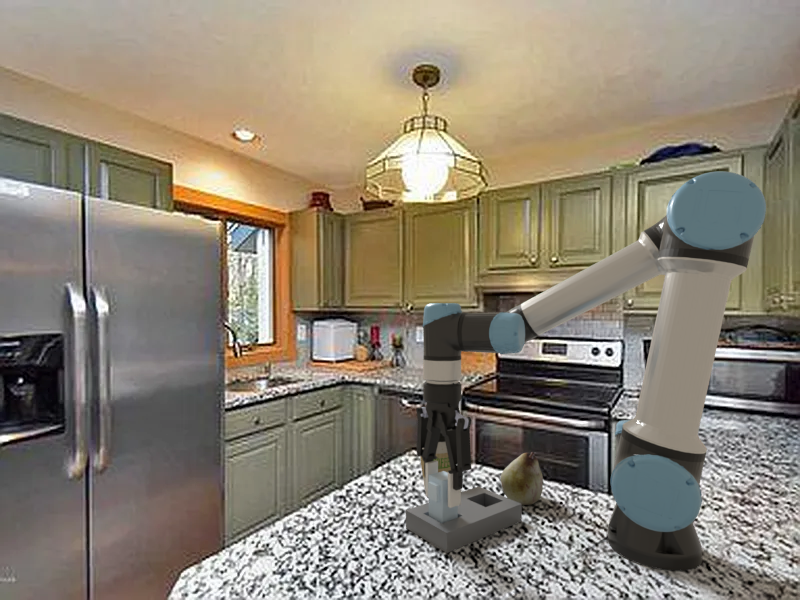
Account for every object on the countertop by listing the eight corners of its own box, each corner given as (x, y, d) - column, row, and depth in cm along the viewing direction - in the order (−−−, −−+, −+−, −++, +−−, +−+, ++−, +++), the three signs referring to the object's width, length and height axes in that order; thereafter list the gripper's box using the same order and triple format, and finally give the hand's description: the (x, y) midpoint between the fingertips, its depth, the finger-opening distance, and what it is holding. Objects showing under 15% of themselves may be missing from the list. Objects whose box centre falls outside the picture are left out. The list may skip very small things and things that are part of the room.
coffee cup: (455, 499, 105) (455, 434, 106) (414, 496, 107) (413, 432, 108) (458, 484, 115) (458, 425, 115) (420, 481, 117) (420, 423, 117)
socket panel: (521, 523, 93) (521, 503, 93) (446, 555, 80) (446, 532, 81) (478, 504, 103) (478, 486, 103) (405, 530, 90) (405, 510, 90)
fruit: (540, 514, 98) (539, 458, 98) (497, 507, 101) (496, 453, 102) (545, 497, 107) (544, 445, 107) (505, 490, 111) (504, 441, 111)
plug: (457, 533, 88) (457, 476, 88) (439, 541, 85) (439, 481, 85) (443, 526, 91) (443, 470, 91) (425, 533, 88) (425, 475, 88)
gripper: (491, 385, 84) (492, 511, 83) (426, 374, 99) (426, 481, 98) (462, 388, 79) (463, 522, 78) (398, 377, 94) (398, 489, 94)
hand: (442, 499), depth 88 cm, fingers open, 6 cm apart
